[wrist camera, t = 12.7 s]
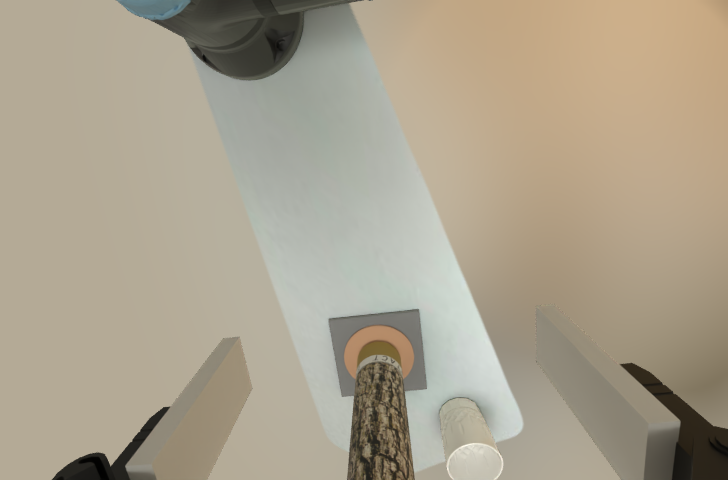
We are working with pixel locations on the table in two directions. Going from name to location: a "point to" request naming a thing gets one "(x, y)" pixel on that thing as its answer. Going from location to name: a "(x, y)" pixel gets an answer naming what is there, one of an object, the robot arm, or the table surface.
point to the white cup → (468, 442)
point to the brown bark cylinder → (379, 418)
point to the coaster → (383, 328)
